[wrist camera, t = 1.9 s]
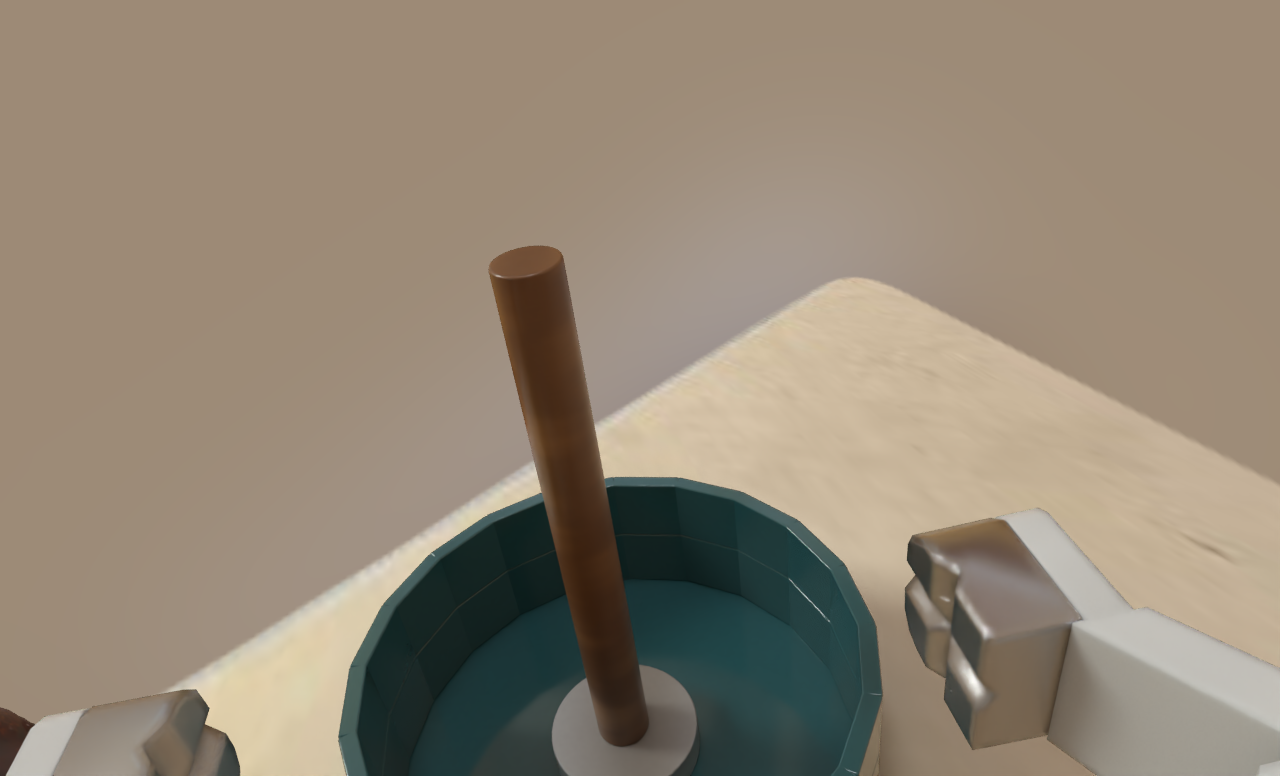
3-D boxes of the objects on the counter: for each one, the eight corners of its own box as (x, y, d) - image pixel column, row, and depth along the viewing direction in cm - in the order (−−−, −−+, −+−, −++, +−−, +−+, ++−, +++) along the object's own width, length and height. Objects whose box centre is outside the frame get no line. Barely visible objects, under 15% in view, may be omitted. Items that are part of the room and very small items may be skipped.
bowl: (368, 1100, 23) (292, 1006, 20) (411, 624, 38) (372, 523, 34) (968, 955, 24) (989, 843, 21) (787, 547, 39) (783, 442, 35)
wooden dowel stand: (563, 829, 28) (408, 331, 18) (552, 699, 33) (422, 238, 22) (714, 795, 29) (650, 287, 18) (684, 671, 33) (617, 204, 22)
